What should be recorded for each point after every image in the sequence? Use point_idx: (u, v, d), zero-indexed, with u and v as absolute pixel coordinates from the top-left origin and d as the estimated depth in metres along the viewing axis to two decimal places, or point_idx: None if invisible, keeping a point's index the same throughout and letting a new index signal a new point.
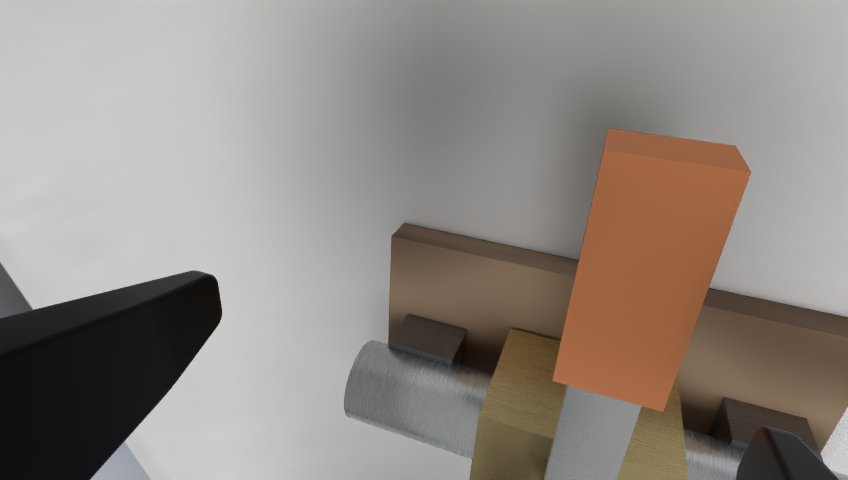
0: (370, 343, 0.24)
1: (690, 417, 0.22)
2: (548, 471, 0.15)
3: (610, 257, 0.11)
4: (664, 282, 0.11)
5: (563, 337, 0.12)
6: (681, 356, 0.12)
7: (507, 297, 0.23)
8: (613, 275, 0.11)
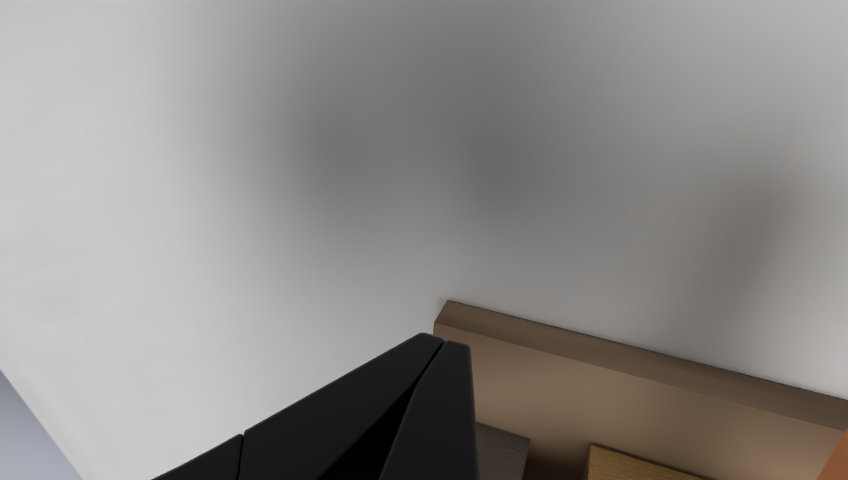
0: None
1: None
2: None
3: None
4: None
5: None
6: None
7: (589, 407, 0.17)
8: None
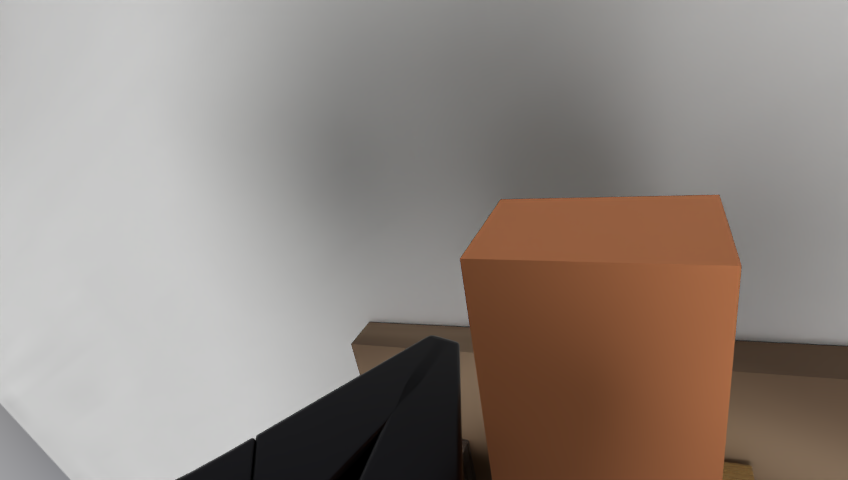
0: None
1: None
2: None
3: (533, 431, 0.06)
4: (638, 468, 0.06)
5: None
6: None
7: None
8: (548, 459, 0.06)
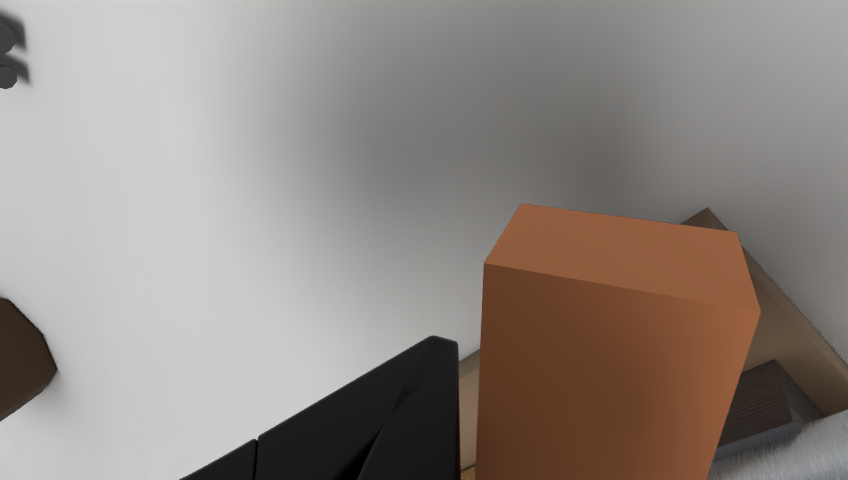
0: None
1: None
2: None
3: (524, 434, 0.06)
4: None
5: None
6: None
7: None
8: (534, 461, 0.07)
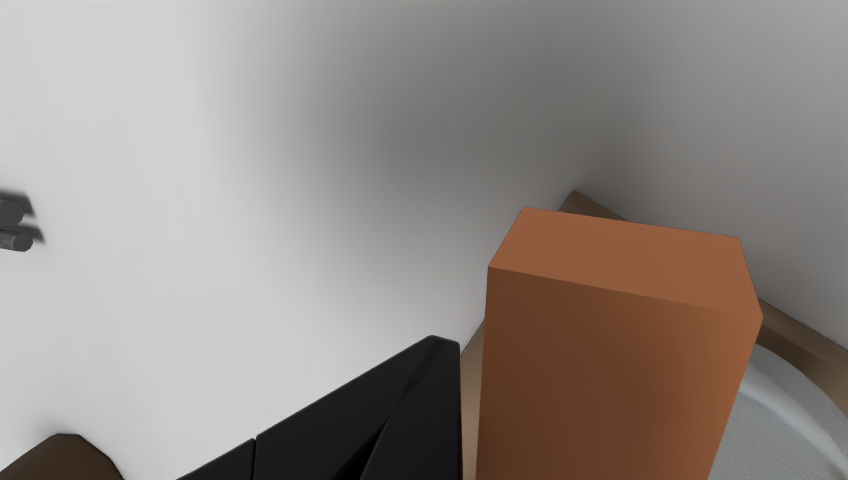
0: None
1: None
2: None
3: (526, 436, 0.06)
4: None
5: None
6: None
7: None
8: (535, 463, 0.07)
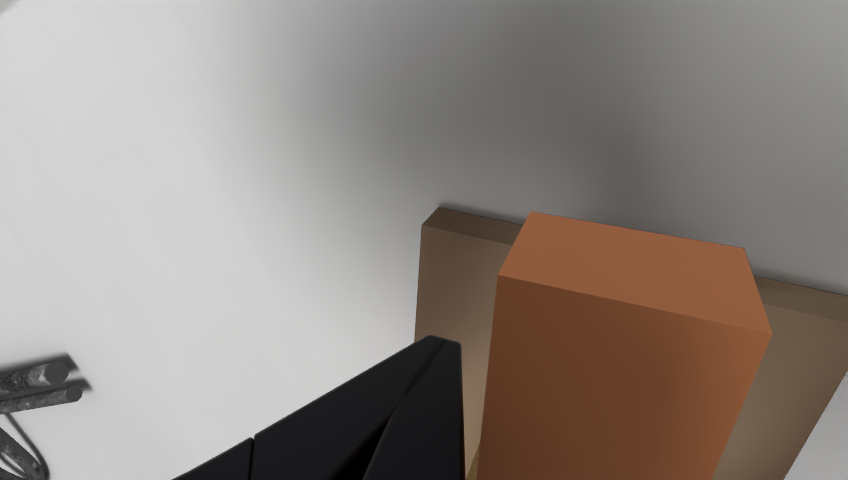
0: None
1: None
2: None
3: (529, 442, 0.06)
4: None
5: None
6: None
7: None
8: (537, 468, 0.07)
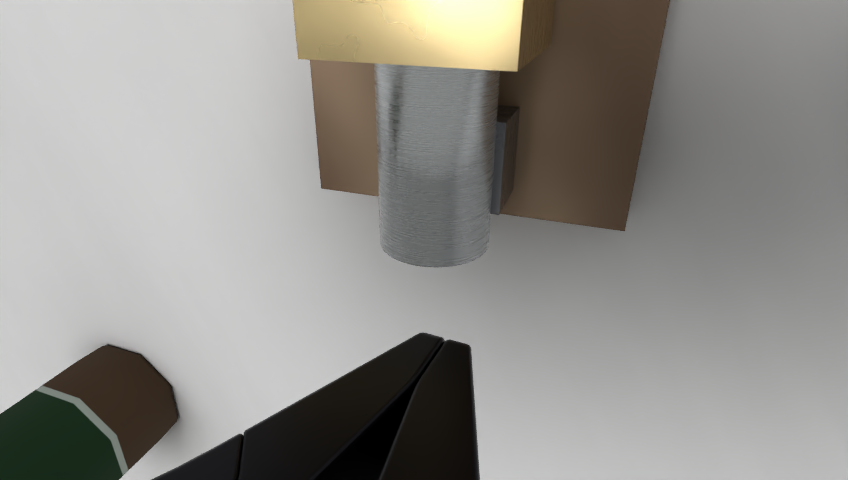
0: None
1: None
2: None
3: None
4: None
5: None
6: None
7: None
8: None
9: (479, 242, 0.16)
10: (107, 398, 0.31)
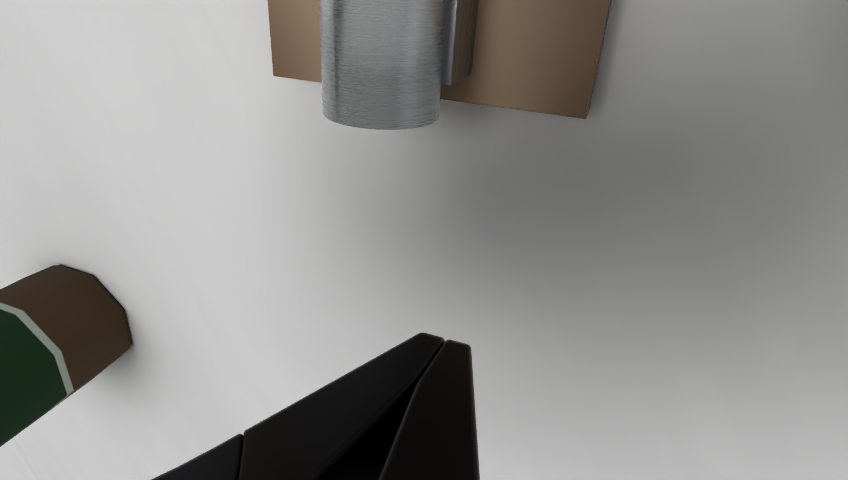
0: None
1: None
2: None
3: None
4: None
5: None
6: None
7: None
8: None
9: (426, 108, 0.15)
10: (53, 314, 0.30)
